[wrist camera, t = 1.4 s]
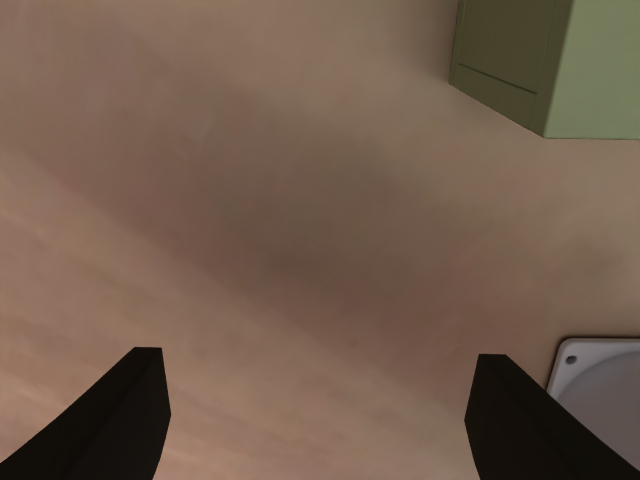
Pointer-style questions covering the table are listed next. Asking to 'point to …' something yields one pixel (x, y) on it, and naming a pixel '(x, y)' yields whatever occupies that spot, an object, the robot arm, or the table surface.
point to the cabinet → (553, 64)
